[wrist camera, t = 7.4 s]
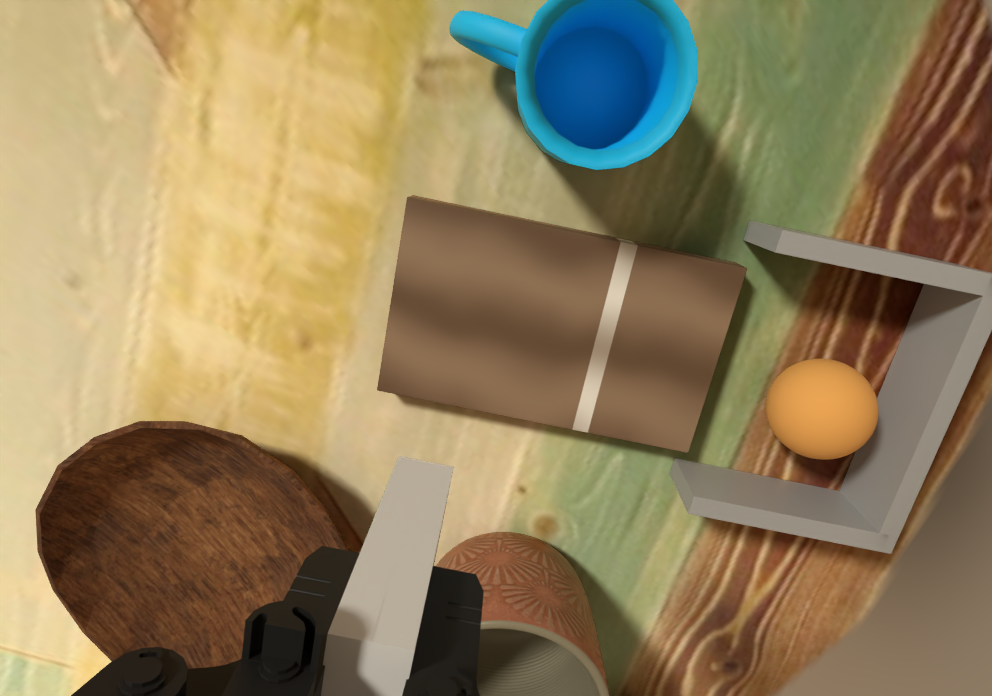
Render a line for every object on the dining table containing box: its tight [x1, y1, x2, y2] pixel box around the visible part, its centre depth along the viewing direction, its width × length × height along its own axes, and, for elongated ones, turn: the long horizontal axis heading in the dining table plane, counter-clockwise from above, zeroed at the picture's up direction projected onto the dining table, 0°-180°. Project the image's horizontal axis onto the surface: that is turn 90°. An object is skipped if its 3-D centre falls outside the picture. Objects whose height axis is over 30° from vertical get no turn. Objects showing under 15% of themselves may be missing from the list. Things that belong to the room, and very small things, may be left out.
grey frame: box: [670, 220, 992, 554], centre depth 38 cm, size 17×13×5 cm
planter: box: [436, 532, 610, 696], centre depth 41 cm, size 12×12×11 cm
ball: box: [766, 359, 879, 460], centre depth 38 cm, size 6×6×6 cm
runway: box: [377, 195, 747, 453], centre depth 39 cm, size 12×20×2 cm, turn 79°
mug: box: [450, 0, 698, 170], centre depth 32 cm, size 12×8×8 cm
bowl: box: [36, 421, 348, 669], centre depth 43 cm, size 20×22×5 cm
